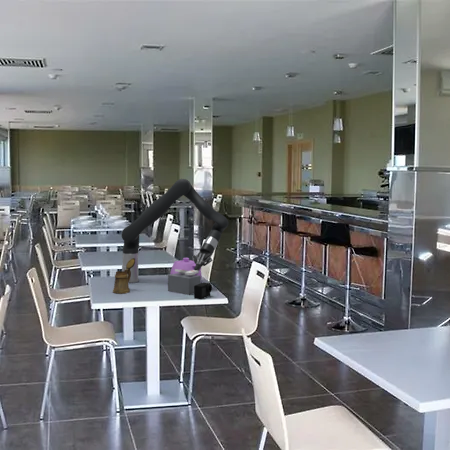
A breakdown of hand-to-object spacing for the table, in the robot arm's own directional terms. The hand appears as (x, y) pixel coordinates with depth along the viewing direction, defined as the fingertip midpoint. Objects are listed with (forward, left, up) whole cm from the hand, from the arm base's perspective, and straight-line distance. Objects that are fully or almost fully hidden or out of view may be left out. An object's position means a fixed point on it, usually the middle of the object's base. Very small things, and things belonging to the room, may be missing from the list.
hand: (196, 270), depth 326 cm
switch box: (-7, 0, -11) cm, 13 cm away
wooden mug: (-38, +8, -12) cm, 41 cm away
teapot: (+1, +23, -12) cm, 26 cm away
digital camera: (-1, -17, -12) cm, 20 cm away
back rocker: (-7, +4, -2) cm, 9 cm away
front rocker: (-3, -2, -2) cm, 4 cm away
